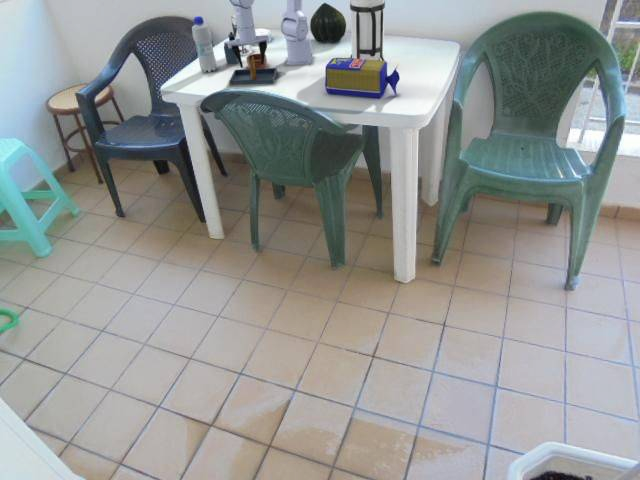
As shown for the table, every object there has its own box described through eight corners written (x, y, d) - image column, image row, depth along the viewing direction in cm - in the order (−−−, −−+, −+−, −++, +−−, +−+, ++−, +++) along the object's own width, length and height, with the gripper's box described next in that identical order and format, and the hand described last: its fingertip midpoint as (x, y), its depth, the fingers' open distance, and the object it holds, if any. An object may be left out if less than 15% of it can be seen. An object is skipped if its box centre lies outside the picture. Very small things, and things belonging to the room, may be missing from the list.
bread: (332, 83, 172) (331, 54, 166) (401, 89, 165) (402, 58, 158) (322, 95, 165) (321, 65, 159) (394, 101, 158) (396, 70, 151)
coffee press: (338, 64, 186) (334, -23, 166) (364, 51, 194) (364, -33, 175) (374, 74, 176) (374, -17, 157) (400, 60, 185) (403, -28, 165)
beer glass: (234, 55, 201) (227, 17, 191) (242, 49, 205) (235, 11, 196) (248, 56, 198) (242, 17, 189) (256, 50, 203) (251, 12, 193)
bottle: (210, 75, 186) (198, 20, 173) (197, 72, 189) (184, 18, 176) (221, 69, 190) (211, 14, 177) (208, 66, 193) (197, 13, 180)
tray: (277, 73, 183) (276, 68, 182) (273, 84, 175) (273, 79, 174) (235, 75, 184) (234, 69, 183) (230, 86, 176) (229, 81, 175)
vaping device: (238, 64, 192) (233, 33, 184) (226, 64, 193) (219, 33, 185) (240, 62, 193) (235, 31, 186) (228, 62, 194) (222, 31, 187)
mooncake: (263, 46, 207) (261, 37, 204) (239, 43, 211) (237, 35, 209) (276, 37, 215) (275, 28, 212) (253, 34, 219) (252, 26, 217)
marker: (257, 77, 180) (253, 54, 174) (256, 79, 178) (252, 56, 173) (251, 77, 180) (247, 54, 175) (251, 79, 179) (247, 56, 173)
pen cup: (268, 63, 191) (267, 52, 188) (266, 71, 185) (264, 60, 182) (249, 64, 192) (248, 53, 189) (246, 72, 186) (244, 61, 183)
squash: (336, 35, 194) (342, -2, 194) (302, 35, 199) (308, -2, 199) (346, 50, 208) (352, 15, 208) (314, 49, 213) (319, 15, 213)
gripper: (264, 19, 171) (269, 58, 180) (223, 25, 169) (230, 64, 178) (268, 25, 166) (273, 64, 175) (226, 31, 164) (233, 71, 173)
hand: (252, 65), depth 176 cm, fingers open, 7 cm apart
